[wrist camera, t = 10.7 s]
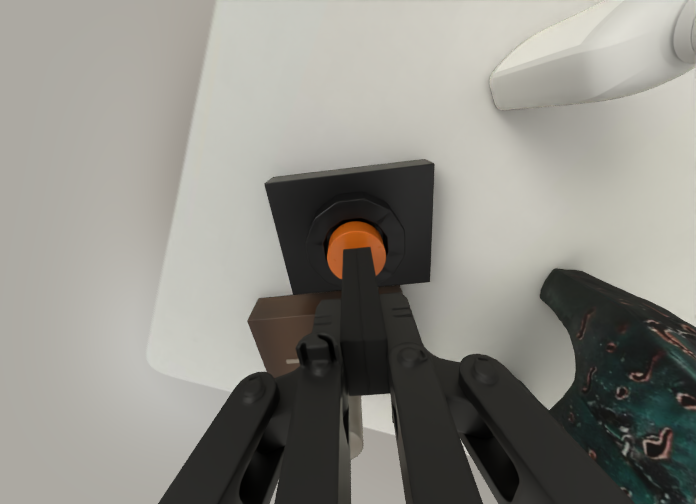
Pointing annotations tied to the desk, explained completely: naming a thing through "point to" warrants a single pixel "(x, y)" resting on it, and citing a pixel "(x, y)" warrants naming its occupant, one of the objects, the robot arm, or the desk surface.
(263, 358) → the panel
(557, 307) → the ceramic cat
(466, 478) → the robot arm
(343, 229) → the button
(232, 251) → the desk surface
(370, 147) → the desk surface
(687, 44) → the eye dropper bottle
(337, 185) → the button box
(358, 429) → the knob
